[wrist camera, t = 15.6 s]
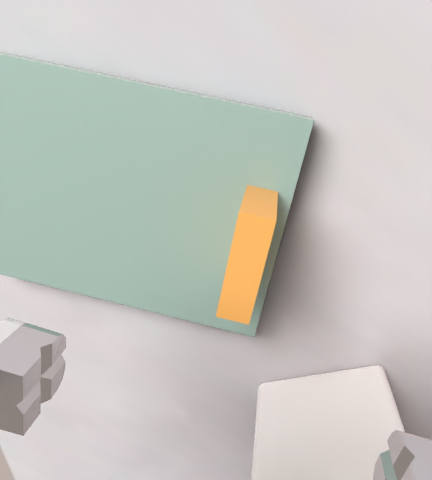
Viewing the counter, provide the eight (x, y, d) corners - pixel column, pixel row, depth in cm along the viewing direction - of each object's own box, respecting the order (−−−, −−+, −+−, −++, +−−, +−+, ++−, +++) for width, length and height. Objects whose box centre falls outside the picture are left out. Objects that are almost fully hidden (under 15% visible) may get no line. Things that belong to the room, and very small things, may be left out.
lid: (311, 115, 20) (321, 134, 14) (256, 317, 25) (248, 388, 19) (2, 51, 21) (-99, 45, 15) (9, 256, 26) (-65, 307, 20)
